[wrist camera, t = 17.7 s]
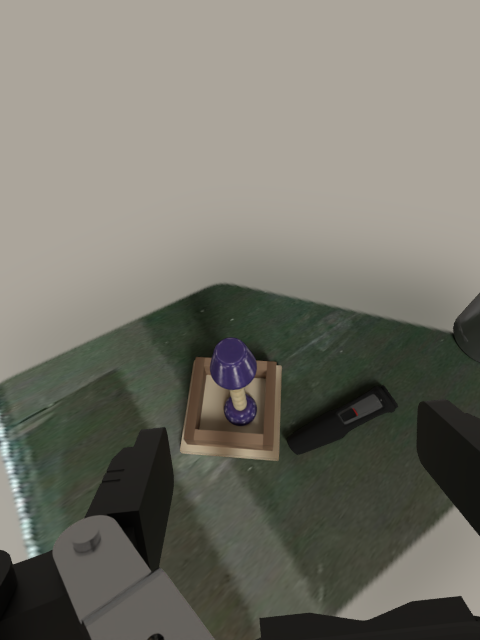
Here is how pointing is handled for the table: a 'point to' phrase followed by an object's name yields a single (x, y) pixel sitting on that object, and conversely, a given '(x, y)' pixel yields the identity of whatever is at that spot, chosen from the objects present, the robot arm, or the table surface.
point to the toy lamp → (235, 379)
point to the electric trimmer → (342, 420)
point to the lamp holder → (216, 431)
